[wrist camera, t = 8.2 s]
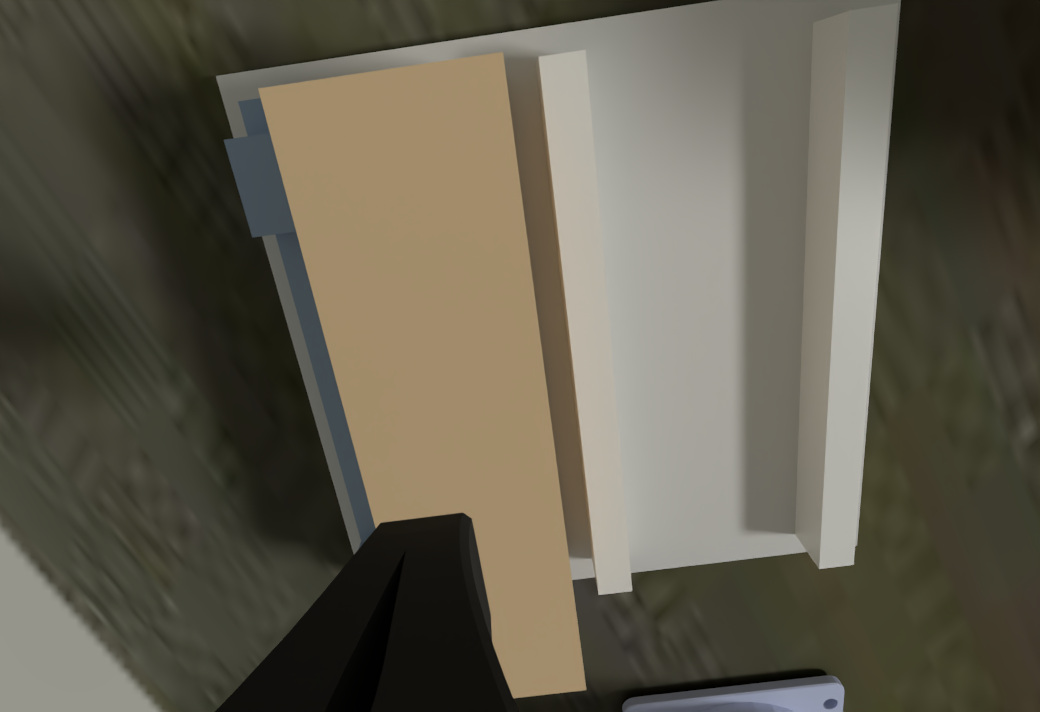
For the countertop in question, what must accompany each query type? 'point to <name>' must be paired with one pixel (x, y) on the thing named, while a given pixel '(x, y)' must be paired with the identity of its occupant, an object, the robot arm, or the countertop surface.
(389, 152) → the tan bar
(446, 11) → the countertop surface
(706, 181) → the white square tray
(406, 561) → the robot arm
